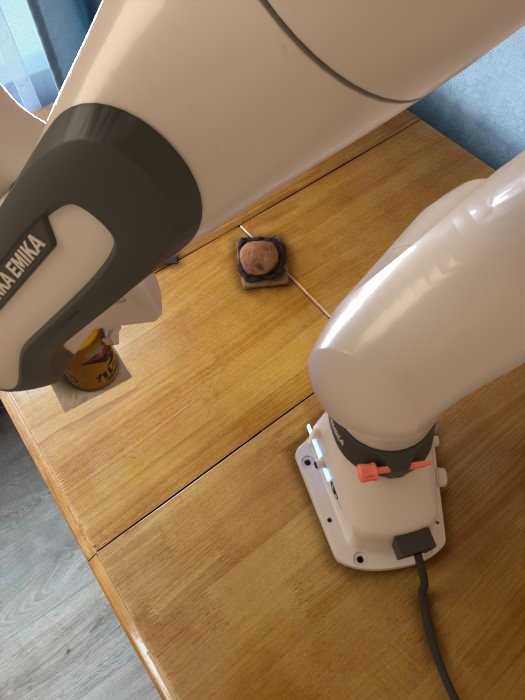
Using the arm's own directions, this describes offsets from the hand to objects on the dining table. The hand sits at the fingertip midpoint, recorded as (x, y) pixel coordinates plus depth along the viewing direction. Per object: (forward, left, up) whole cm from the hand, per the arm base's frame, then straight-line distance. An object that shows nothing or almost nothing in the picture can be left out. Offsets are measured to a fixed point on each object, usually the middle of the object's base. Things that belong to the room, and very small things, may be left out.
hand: (79, 344), depth 58 cm
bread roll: (+24, -24, -19) cm, 39 cm away
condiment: (0, +1, -6) cm, 6 cm away
